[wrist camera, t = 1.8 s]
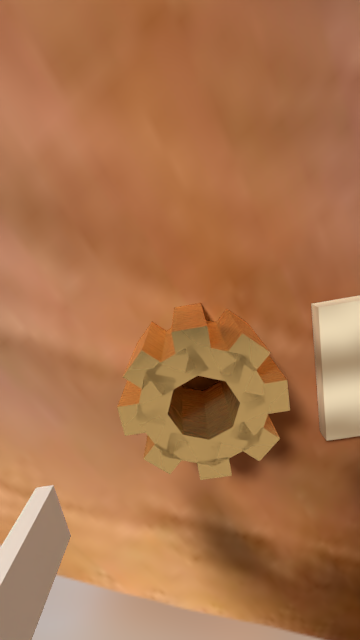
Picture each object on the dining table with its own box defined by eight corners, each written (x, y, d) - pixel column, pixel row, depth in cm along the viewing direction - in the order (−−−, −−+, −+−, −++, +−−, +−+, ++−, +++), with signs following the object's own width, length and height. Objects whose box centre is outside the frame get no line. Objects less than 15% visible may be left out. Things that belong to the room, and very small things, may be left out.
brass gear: (121, 316, 22) (100, 343, 17) (254, 293, 22) (280, 313, 16) (148, 430, 25) (139, 488, 19) (268, 412, 25) (295, 466, 19)
